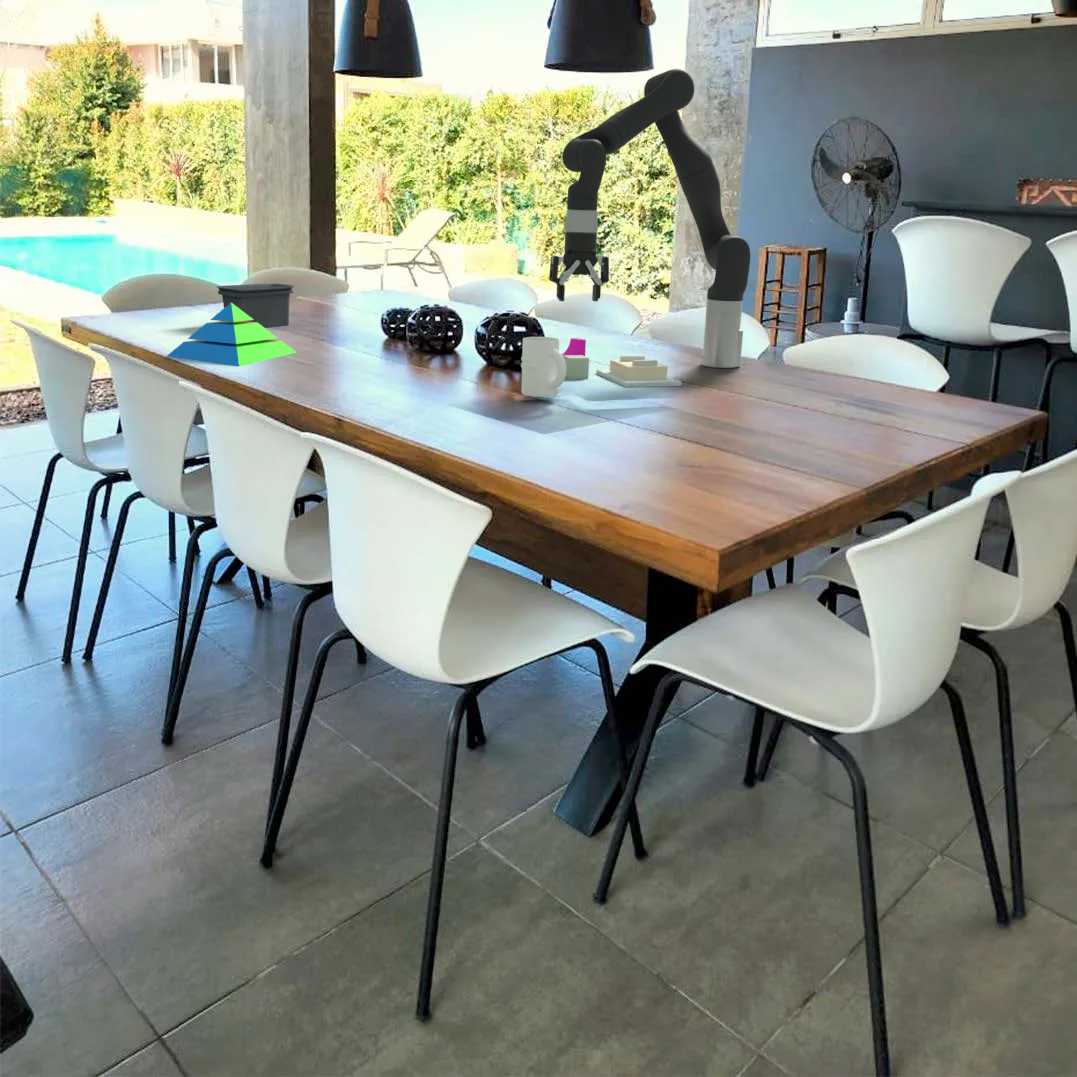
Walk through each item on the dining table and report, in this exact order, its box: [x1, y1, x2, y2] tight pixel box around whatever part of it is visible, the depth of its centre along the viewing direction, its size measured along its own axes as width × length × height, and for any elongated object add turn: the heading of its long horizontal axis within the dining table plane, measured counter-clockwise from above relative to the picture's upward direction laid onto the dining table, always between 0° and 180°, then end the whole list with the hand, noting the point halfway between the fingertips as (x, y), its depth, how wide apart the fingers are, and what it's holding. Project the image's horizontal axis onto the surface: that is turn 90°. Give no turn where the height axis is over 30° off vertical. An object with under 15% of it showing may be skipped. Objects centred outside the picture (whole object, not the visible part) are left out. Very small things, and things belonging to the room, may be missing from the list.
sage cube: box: [563, 355, 590, 380], centre depth 253 cm, size 5×5×5 cm
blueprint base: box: [595, 354, 682, 388], centre depth 251 cm, size 14×20×5 cm
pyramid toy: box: [166, 303, 297, 367], centre depth 268 cm, size 25×25×14 cm
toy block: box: [561, 337, 587, 357], centre depth 263 cm, size 15×6×8 cm, turn 125°
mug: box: [520, 336, 566, 398], centre depth 225 cm, size 8×12×12 cm
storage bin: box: [216, 283, 294, 329], centre depth 314 cm, size 21×16×14 cm
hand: (578, 301), depth 248 cm, fingers open, 8 cm apart
